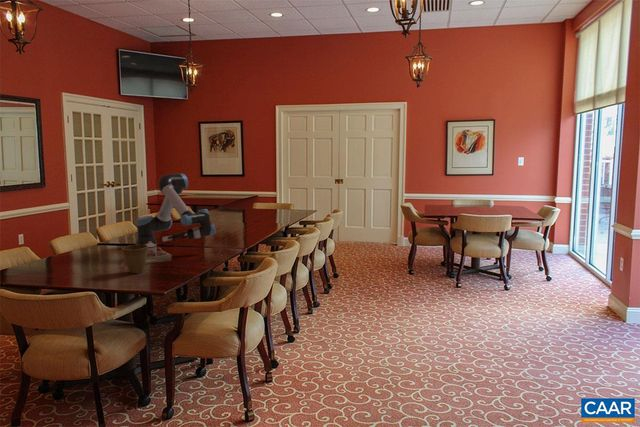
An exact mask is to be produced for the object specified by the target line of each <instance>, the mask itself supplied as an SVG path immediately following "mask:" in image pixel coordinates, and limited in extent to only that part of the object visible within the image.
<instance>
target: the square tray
mask: <svg viewBox="0 0 640 427" xmlns="http://www.w3.org/2000/svg"><path fill="white" fill-rule="evenodd" d="M160 252H161V250H157V254H159V253H160ZM171 260H173V258H172V254H170V253H169V252H167V251H166V250H162V252H161V254H159V255H157V256H154V257H147V259H146V264H145V265H150V263H151V264H157V262H158V263H163V262H164V263H165V262H171Z"/></svg>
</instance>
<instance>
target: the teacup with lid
mask: <svg viewBox="0 0 640 427" xmlns="http://www.w3.org/2000/svg"><path fill="white" fill-rule="evenodd" d="M146 245H147V246H148V251H147V257H154V256H157V255H159V254H161V252H162V251H163V250H162V248H161V247H160V246H158V245H156V244H154V243H151V241H150V242H148V243H147V244H146ZM158 249H159V251H161V252H160V253H159V254H157V251H158Z"/></svg>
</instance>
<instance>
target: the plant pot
mask: <svg viewBox="0 0 640 427" xmlns="http://www.w3.org/2000/svg"><path fill="white" fill-rule="evenodd" d="M121 250H122V253H123V255H122V256H123V259H124V260H125V264H126V266H127V268H128V270H129V272H130V274H132V273H137V274H141V272H142V273H144V270H145V267H146V265H147V264H146V259H147V251H148V246H147V245H136V244H132V245H127V246H126V245H125V246H124V247H123V246H122V248H121Z"/></svg>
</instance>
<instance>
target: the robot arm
mask: <svg viewBox="0 0 640 427" xmlns="http://www.w3.org/2000/svg"><path fill="white" fill-rule="evenodd" d="M157 183H158V184H157V186H158V190H159V191H160V193H161V194H162V195H164V196H165V197H164V199H163V201H162V203H161V206H160V209H159V211H158V212H156V213H155V216H154V217H153V216H152V215H145V216H140V217H138V218H137V219H136V229H137V230H136V231H137V240H136V244H135V245H146V244H147V243H148V242H150V241H151V243H154V244H156V245H157V241H156V238H155V234H154V233H156V232H163V231H168V230H169V229H171V227H172V225H173V219H172V216H171V214H172V212H173V210H174V209H175V211H176V213H178V215H179V216H180V218H179V219H180V223H181V224H182V225H183V226H191V225H199V226H198V227H193V228H187V229H186V232H180V233H179V234H175V233H172V234H171V235H166V236H163V237H162V238H161V239H162V242H168V241H169V242H170V241H173V242H174V240H177V239H186V237H187V238H188V241H189V240H193V239H197V240H199V239H200V238H203V237H211V236H215V235H216V232H217V231H216V227H215V224H213V223H211V217H210V212H209V209H207V208H203V209H199V210H198V211H197V212H194V213H193V212H192V211H191V210H190V209H189V208H188V206H187V205H186V204H185V202H184V201H183V200H182V198H181V197H180V195H181V194H182V192H183V190H185V189H188V187H189V180H188V177H187V176H186V174H185V173H179V172H178V173H168V174H167V173H166V174H164V175H162V176H160V178H159V179H158V182H157ZM157 246H158V245H157Z"/></svg>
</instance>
